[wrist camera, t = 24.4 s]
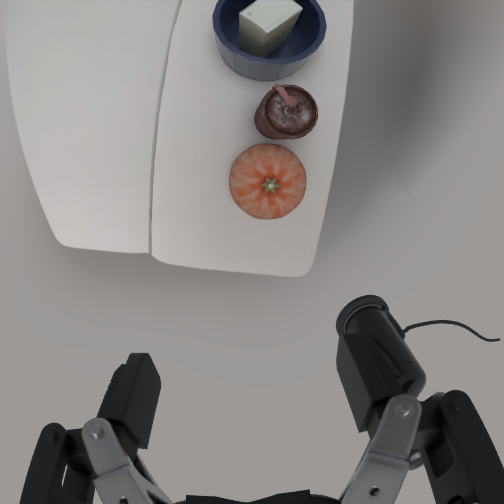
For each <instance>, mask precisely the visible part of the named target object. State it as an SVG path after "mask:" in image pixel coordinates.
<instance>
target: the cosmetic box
mask: <svg viewBox="0 0 504 504" xmlns="http://www.w3.org/2000/svg"><path fill="white" fill-rule="evenodd" d="M302 9H303V8H302V7H301V6H300V5H299V4H297V3H296V2H295V1H294V0H257V1H255V2H254V3H252V4H251V5H249V6H248V7H247V8H245V9H244V10H243V11H241V12H240V13H239V47H240V48H242V49H243V50H244V51H245V52H246V53H248V54H250V55H252V56H256V57H261V58H266V57H267V56H268V55H269V54H271V53H272V52H273V51H275V50H276V49H277V48H278V47H280V46H281V45H282V44H283V43H285V42H286V41H287V39H288V37H289V35H290V33H291V31H292V29H293V27H294V25H295V23H296V21H297V19H298V17H299V15H300V13H301V11H302Z"/></svg>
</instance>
